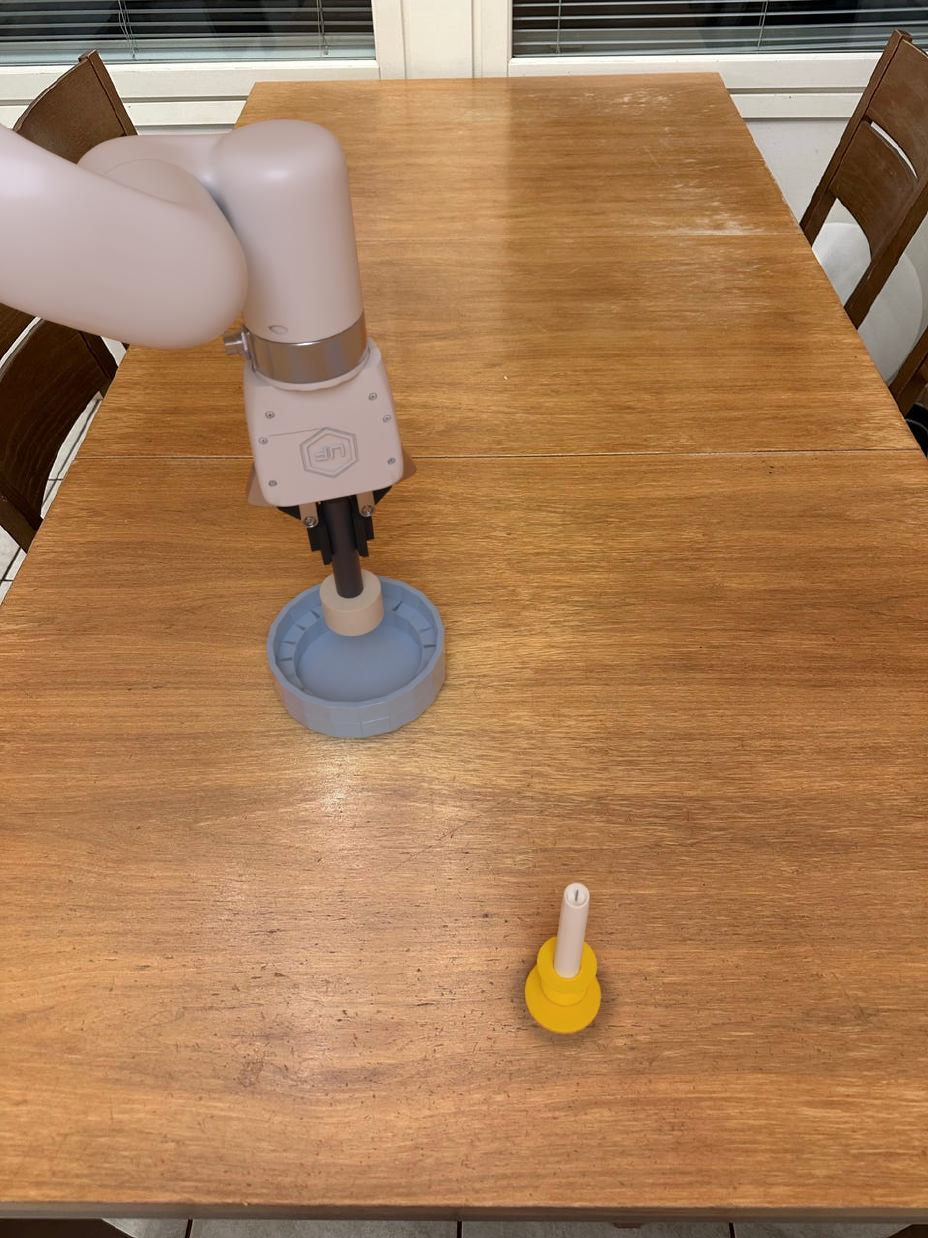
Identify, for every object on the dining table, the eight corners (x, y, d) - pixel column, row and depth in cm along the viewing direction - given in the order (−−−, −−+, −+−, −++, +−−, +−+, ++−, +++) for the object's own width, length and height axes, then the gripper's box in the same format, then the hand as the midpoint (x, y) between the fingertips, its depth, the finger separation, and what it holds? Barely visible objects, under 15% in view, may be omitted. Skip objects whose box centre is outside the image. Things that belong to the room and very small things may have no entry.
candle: (590, 1044, 63) (613, 945, 51) (515, 1020, 64) (520, 918, 53) (607, 971, 66) (632, 862, 55) (535, 948, 67) (544, 838, 56)
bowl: (288, 761, 79) (278, 725, 75) (266, 630, 89) (257, 593, 85) (465, 720, 81) (463, 684, 77) (424, 598, 91) (421, 560, 87)
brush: (329, 642, 77) (305, 522, 68) (320, 599, 80) (295, 479, 71) (389, 629, 78) (373, 509, 68) (377, 587, 81) (361, 467, 72)
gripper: (184, 392, 56) (245, 604, 70) (444, 348, 59) (454, 561, 72) (177, 329, 61) (235, 538, 75) (417, 290, 64) (431, 500, 77)
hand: (343, 547), depth 74 cm, fingers closed on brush
